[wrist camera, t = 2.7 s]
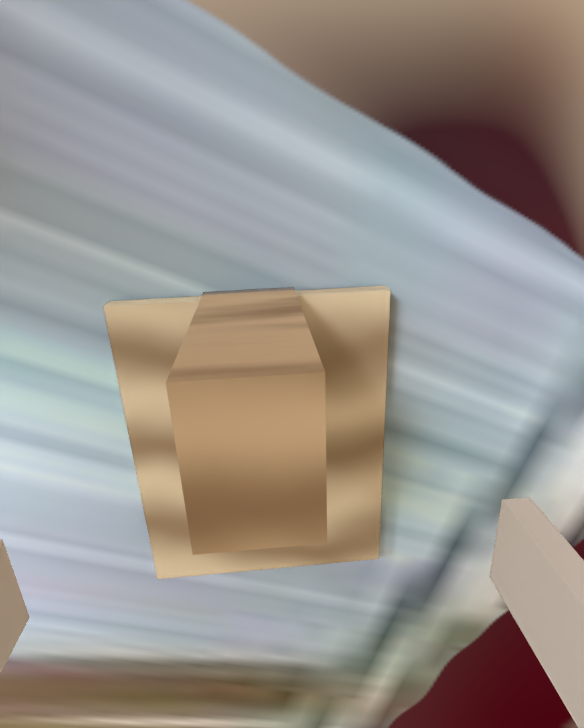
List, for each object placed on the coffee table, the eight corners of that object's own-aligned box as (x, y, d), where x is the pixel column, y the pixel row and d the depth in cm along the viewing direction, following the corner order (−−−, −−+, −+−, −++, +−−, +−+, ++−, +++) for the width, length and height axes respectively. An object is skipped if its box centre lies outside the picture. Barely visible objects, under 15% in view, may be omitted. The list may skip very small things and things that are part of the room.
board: (109, 301, 26) (102, 306, 25) (384, 285, 27) (390, 290, 26) (160, 565, 34) (157, 579, 33) (374, 546, 35) (378, 559, 34)
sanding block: (203, 292, 25) (165, 382, 14) (293, 287, 26) (325, 371, 15) (216, 405, 28) (192, 555, 17) (297, 399, 28) (327, 543, 17)
